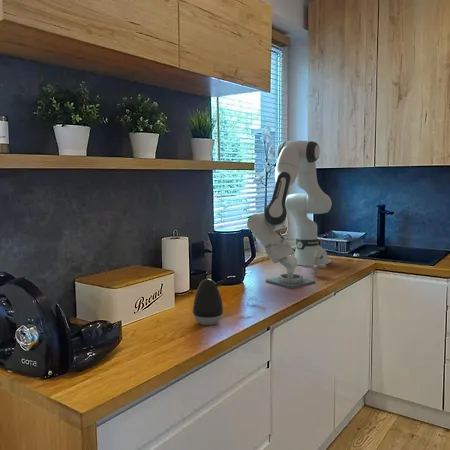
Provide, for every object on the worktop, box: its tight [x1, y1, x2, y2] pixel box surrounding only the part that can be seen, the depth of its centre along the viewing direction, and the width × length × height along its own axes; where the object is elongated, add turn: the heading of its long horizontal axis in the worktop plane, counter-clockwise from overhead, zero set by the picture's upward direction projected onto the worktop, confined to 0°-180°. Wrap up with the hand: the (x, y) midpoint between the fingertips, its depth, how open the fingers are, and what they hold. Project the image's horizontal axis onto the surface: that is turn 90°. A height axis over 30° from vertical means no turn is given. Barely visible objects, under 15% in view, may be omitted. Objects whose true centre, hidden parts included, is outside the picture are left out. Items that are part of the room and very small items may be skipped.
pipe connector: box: [304, 256, 327, 278], centre depth 220 cm, size 10×10×10 cm
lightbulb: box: [284, 255, 298, 279], centre depth 207 cm, size 6×6×11 cm
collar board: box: [265, 273, 316, 290], centre depth 208 cm, size 16×16×3 cm
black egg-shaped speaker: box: [192, 278, 224, 326], centre depth 152 cm, size 10×10×15 cm
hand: (291, 265), depth 207 cm, fingers closed on lightbulb, 6 cm apart
